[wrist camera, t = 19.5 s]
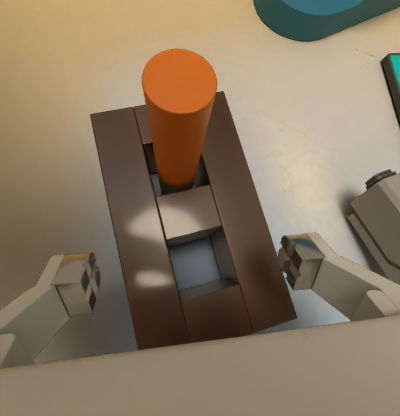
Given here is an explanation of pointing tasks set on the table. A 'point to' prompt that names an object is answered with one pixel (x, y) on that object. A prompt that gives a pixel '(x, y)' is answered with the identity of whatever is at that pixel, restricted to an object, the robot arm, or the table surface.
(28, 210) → the table surface
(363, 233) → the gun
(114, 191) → the pen stand
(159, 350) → the robot arm
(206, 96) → the orange cylinder rod
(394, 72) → the smartphone
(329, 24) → the camera mount
